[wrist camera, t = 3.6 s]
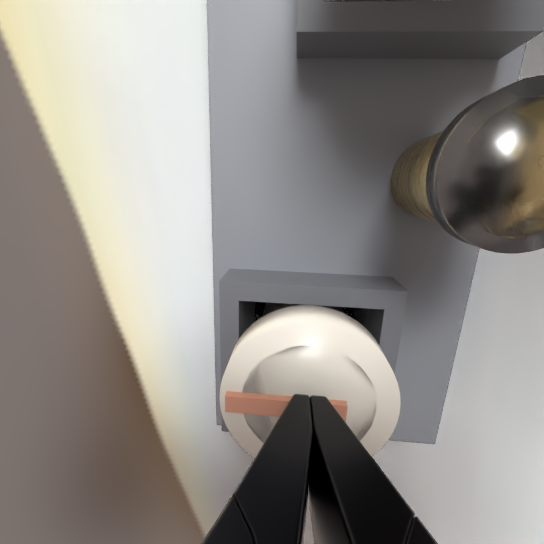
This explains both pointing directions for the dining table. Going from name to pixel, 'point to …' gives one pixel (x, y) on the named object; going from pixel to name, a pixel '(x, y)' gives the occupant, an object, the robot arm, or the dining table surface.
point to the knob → (308, 374)
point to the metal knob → (482, 172)
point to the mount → (348, 168)
